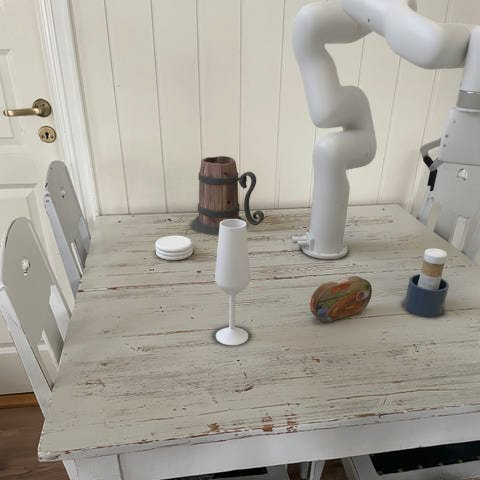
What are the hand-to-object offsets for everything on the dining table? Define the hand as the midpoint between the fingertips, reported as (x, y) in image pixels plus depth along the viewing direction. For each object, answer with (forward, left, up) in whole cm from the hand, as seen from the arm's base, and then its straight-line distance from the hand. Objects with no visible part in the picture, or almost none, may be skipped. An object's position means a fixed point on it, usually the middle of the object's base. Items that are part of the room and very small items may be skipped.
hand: (456, 192), depth 100 cm
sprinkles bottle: (-3, -3, -26) cm, 26 cm away
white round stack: (-60, +30, -26) cm, 72 cm away
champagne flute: (-47, -12, -26) cm, 55 cm away
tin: (-23, -5, -26) cm, 35 cm away
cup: (-3, -3, -26) cm, 26 cm away
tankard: (-44, +50, -26) cm, 71 cm away
